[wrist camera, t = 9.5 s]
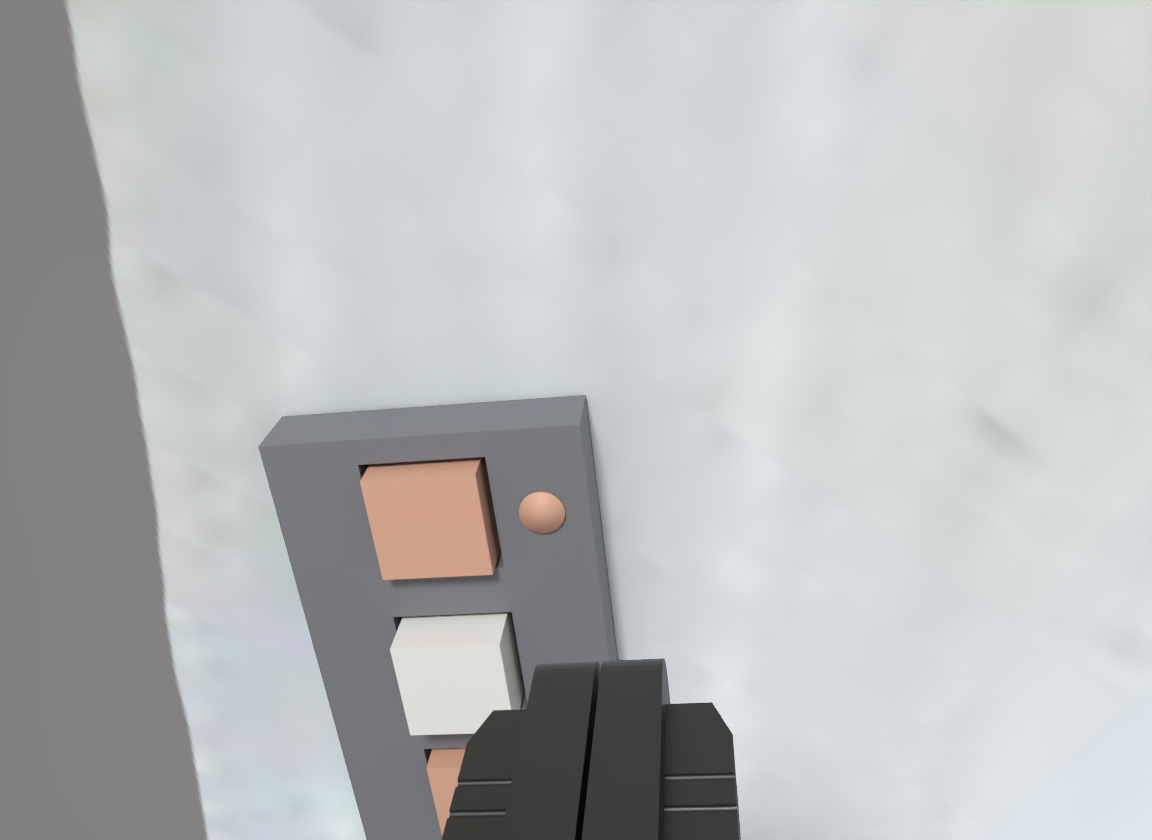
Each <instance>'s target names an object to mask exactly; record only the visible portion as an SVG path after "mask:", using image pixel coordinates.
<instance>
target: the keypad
mask: <svg viewBox="0 0 1152 840" xmlns="http://www.w3.org/2000/svg"><path fill="white" fill-rule="evenodd" d="M258 447H259V450H260V454H261V457H262V461H263V465H264V468H265V472H266V476H267V479H268V483H269V486H270V490H271V494H272V497H273V501H274V505H275V508H276V512H277V515H278V519H279V523H280V526H281V530H282V534H283V537H284V541H285V544H286V548H287V552H288V555H289V559H290V563H291V566H292V570H293V573H294V577H295V581H296V584H297V588H298V592H299V595H300V599H301V603H302V606H303V610H304V613H305V617H306V621H307V624H308V628H309V632H310V635H311V639H312V642H313V646H314V650H315V653H316V657H317V661H318V664H319V668H320V671H321V675H322V679H323V682H324V686H325V690H326V693H327V697H328V700H329V704H330V708H331V711H332V715H333V719H334V722H335V726H336V729H337V733H338V737H339V740H340V744H341V748H342V751H343V755H344V759H345V762H346V766H347V769H348V773H349V777H350V780H351V784H352V788H353V791H354V795H355V798H356V802H357V806H358V809H359V813H360V817H361V820H362V824H363V827H364V831H365V835H366V838H367V840H442V833H441V829H440V825H439V820H438V816H437V812H436V808H435V803H434V799H433V795H432V790H431V786H430V782H429V777H428V773H427V769H426V768H427V764H428V761H429V757H430V754H431V751H432V749H444V748H466V745H467V742H468V741H469V740H470V739H471V737H472V736H473V735H474V734H443V735H410V732H409V728H408V724H407V719H406V715H405V711H404V707H403V702H402V698H401V694H400V690H399V686H398V681H397V677H396V673H395V669H394V665H393V660H392V656H391V652H390V648H391V645H392V643H393V640H394V638H395V635H396V632H397V630H398V627H399V625H400V622H401V620H402V617H405V616H428V615H451V614H474V613H496V612H511V617H512V623H513V629H514V635H515V640H516V646H517V652H518V658H519V664H520V669H521V675H522V681H523V687H524V691H523V696H522V701H521V706H520V710H521V709H526V708H527V703H528V698H529V693H530V688H531V683H532V678H533V674H534V670H535V667H536V665H537V664H551V663H576V662H599V664H600V666H601V665H602V662H603V661H618V658H617V649H616V641H615V633H614V625H613V617H612V608H611V600H610V592H609V584H608V576H607V567H606V559H605V551H604V543H603V534H602V526H601V518H600V510H599V502H598V493H597V485H596V477H595V469H594V461H593V452H592V444H591V436H590V428H589V420H588V411H587V403H586V395H582V396H567V397H553V398H539V399H525V400H511V401H497V402H483V403H469V404H454V405H440V406H426V407H412V408H398V409H384V410H370V411H356V412H341V413H327V414H313V415H299V416H285V417H282V418H281V419H280V420H279V422H278V423H277V424H276V425H275V426H274V428H273V429H272V430H271V431H270V433H269V434H268V435H267V436H266V438H265V439H264V440H263V441H262V443H261V444H260V445H259V446H258ZM475 457H485V460H486V465H487V471H488V477H489V483H490V489H491V495H492V500H493V506H494V512H495V518H496V524H497V529H498V535H499V541H500V547H501V548H500V552H499V555H498V559H497V562H496V566H495V570H494V573H493V575H478V576H457V577H437V578H416V579H396V580H383V579H382V575H381V571H380V566H379V562H378V558H377V553H376V549H375V545H374V541H373V536H372V532H371V528H370V523H369V519H368V515H367V510H366V506H365V502H364V498H363V493H362V489H361V485H360V480H361V479H362V477H363V475H364V473H365V472H366V470H367V468H368V466H369V465H370V464H381V463H396V462H412V461H428V460H443V459H459V458H475Z"/></svg>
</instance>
